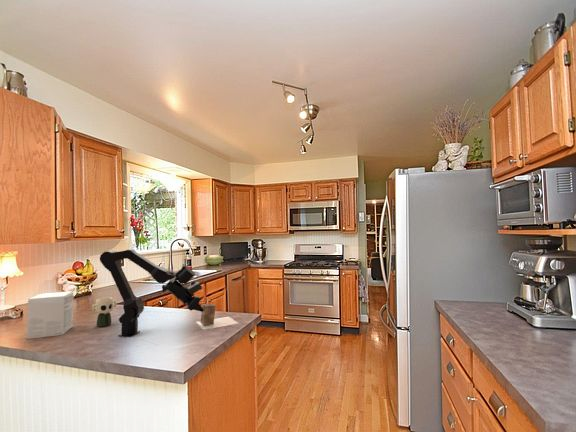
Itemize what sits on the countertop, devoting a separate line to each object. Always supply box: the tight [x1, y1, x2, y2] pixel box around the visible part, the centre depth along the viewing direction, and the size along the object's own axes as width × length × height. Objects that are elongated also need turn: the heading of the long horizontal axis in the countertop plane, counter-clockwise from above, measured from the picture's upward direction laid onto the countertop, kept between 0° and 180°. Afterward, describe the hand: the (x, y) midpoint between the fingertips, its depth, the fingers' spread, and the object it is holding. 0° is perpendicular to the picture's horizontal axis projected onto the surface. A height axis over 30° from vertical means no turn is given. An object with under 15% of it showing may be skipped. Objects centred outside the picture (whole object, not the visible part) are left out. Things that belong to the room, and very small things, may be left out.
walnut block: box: [200, 303, 216, 326], centre depth 137 cm, size 5×5×9 cm
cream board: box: [196, 316, 239, 331], centre depth 139 cm, size 17×14×1 cm
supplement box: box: [25, 290, 74, 340], centre depth 131 cm, size 13×13×18 cm
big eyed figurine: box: [91, 297, 117, 327], centre depth 140 cm, size 11×7×13 cm, turn 145°
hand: (202, 310), depth 136 cm, fingers closed
